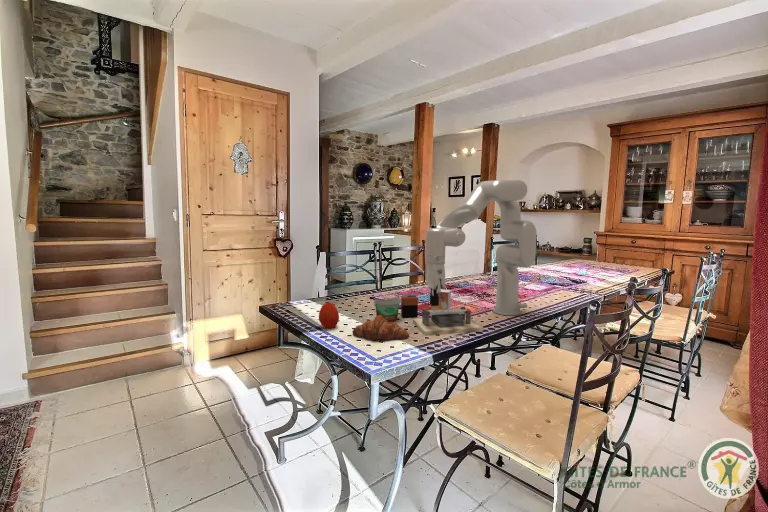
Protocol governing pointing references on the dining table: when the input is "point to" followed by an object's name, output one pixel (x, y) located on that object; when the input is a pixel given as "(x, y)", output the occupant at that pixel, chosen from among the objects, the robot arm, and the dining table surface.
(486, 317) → the dining table surface
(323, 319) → the red egg
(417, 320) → the heatsink board
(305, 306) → the dining table surface
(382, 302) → the food container
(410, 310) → the battery
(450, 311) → the clamp bar
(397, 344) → the dining table surface
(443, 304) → the small box
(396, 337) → the pastry
